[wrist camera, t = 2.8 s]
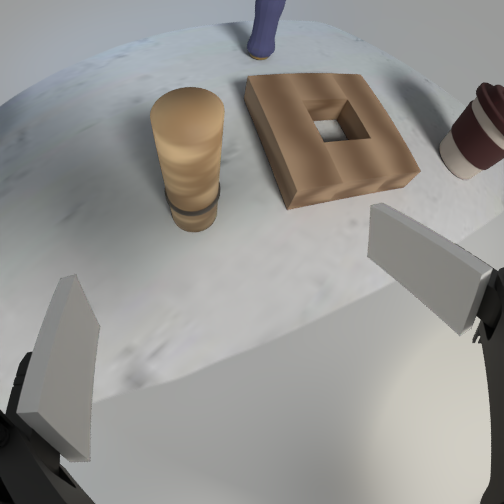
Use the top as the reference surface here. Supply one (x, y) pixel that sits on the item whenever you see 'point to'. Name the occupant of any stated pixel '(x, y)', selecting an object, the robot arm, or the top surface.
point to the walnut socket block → (312, 145)
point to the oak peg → (190, 153)
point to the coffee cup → (476, 134)
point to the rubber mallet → (265, 28)
